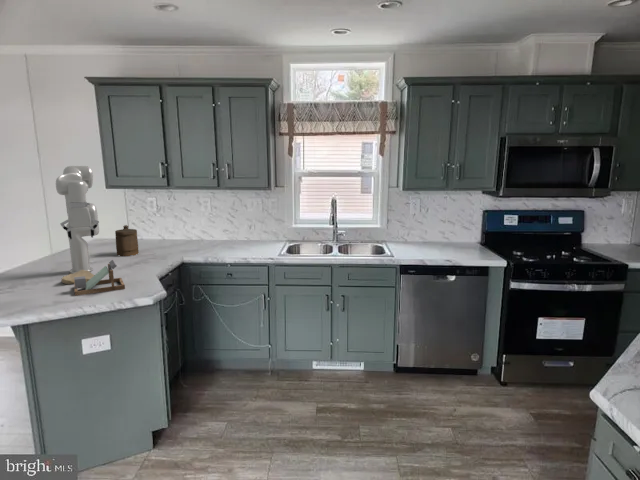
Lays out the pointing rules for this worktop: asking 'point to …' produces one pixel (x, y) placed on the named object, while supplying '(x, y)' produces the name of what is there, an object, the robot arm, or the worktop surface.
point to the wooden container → (126, 241)
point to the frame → (110, 280)
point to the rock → (70, 278)
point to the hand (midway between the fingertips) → (81, 237)
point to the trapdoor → (99, 275)
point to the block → (80, 282)
